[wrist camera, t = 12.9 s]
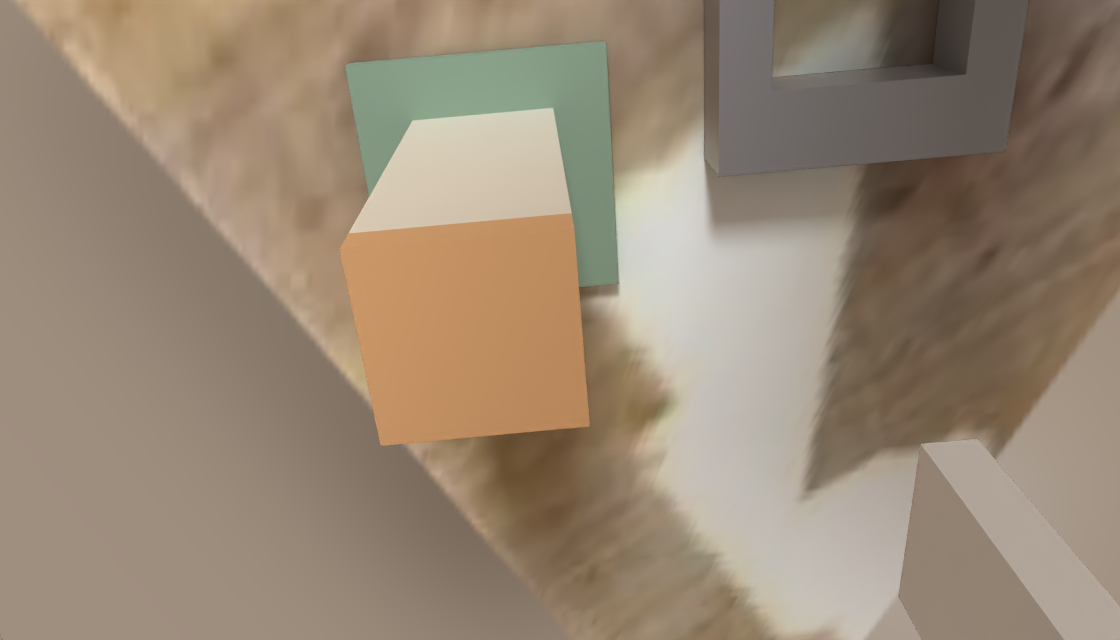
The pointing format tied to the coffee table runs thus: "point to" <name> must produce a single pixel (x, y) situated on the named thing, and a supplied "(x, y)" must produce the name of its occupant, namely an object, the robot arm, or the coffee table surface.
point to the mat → (504, 86)
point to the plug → (470, 283)
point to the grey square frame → (858, 94)
